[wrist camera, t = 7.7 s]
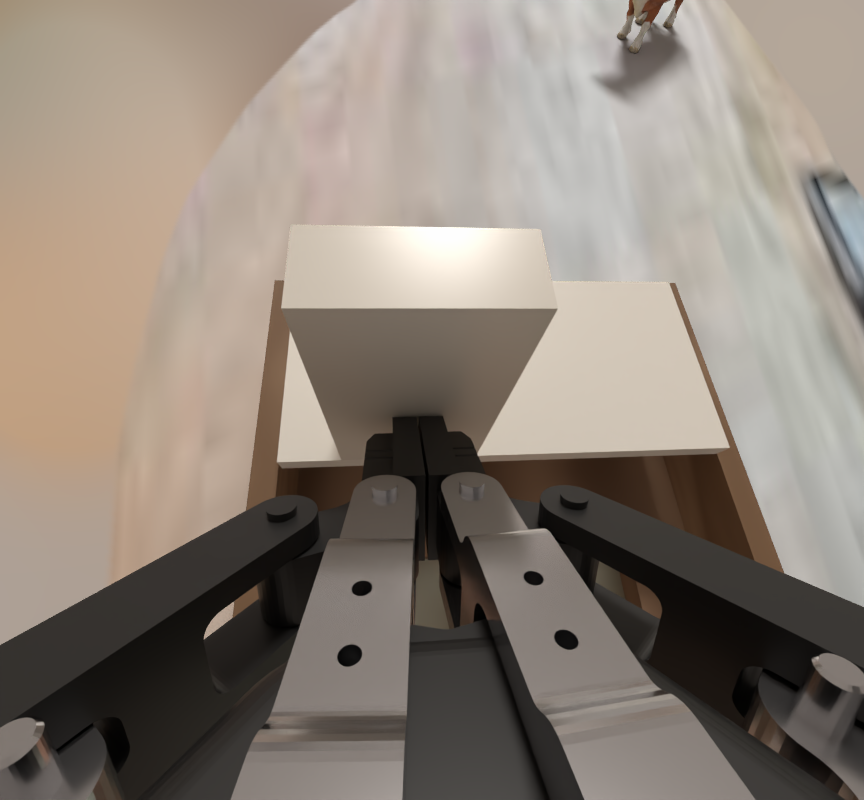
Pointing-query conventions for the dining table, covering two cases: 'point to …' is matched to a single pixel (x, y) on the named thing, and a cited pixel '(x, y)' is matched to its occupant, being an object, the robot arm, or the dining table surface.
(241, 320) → the dining table surface
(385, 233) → the cover
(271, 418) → the brown wooden box
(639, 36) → the bull figurine
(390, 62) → the dining table surface
